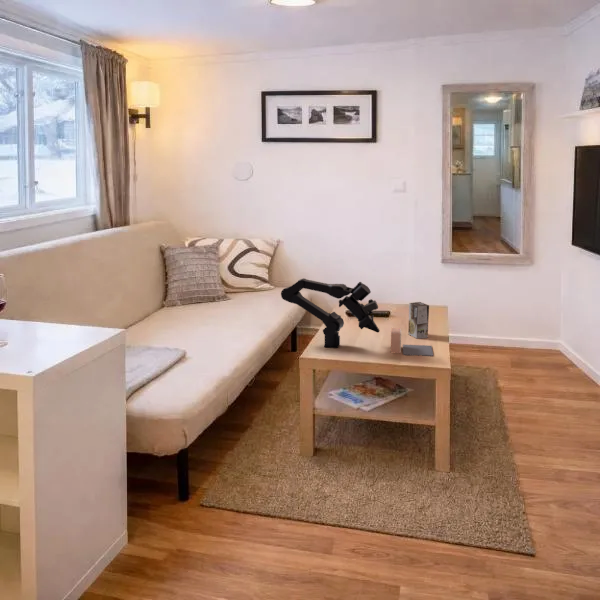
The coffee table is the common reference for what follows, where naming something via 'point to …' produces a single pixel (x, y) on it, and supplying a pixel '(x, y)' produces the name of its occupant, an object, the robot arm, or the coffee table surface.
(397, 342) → the pinkish brown block
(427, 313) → the coffee box
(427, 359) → the coffee table surface
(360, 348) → the coffee table surface
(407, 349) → the mat
